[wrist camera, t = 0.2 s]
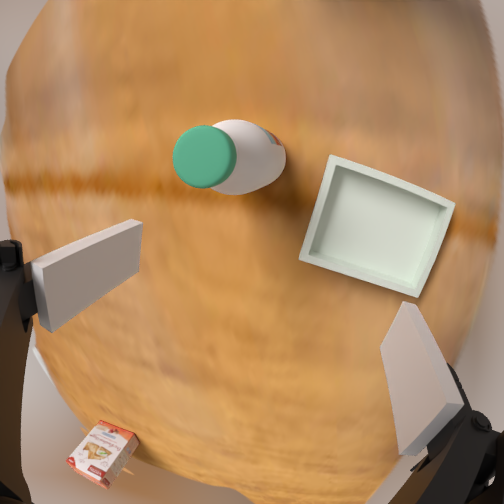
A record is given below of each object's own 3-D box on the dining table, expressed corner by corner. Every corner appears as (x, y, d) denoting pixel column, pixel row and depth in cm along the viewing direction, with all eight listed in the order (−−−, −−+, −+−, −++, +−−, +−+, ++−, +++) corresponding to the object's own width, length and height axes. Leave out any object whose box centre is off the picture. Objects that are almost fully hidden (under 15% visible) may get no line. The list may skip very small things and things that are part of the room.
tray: (329, 154, 36) (330, 154, 33) (446, 200, 33) (455, 203, 31) (300, 252, 40) (298, 259, 38) (412, 289, 38) (417, 297, 35)
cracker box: (134, 431, 67) (99, 481, 48) (140, 443, 69) (109, 491, 49) (99, 418, 70) (64, 461, 51) (106, 430, 72) (73, 471, 53)
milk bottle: (298, 165, 37) (277, 169, 18) (251, 196, 40) (190, 231, 21) (264, 118, 36) (211, 82, 17) (219, 151, 39) (136, 150, 20)
